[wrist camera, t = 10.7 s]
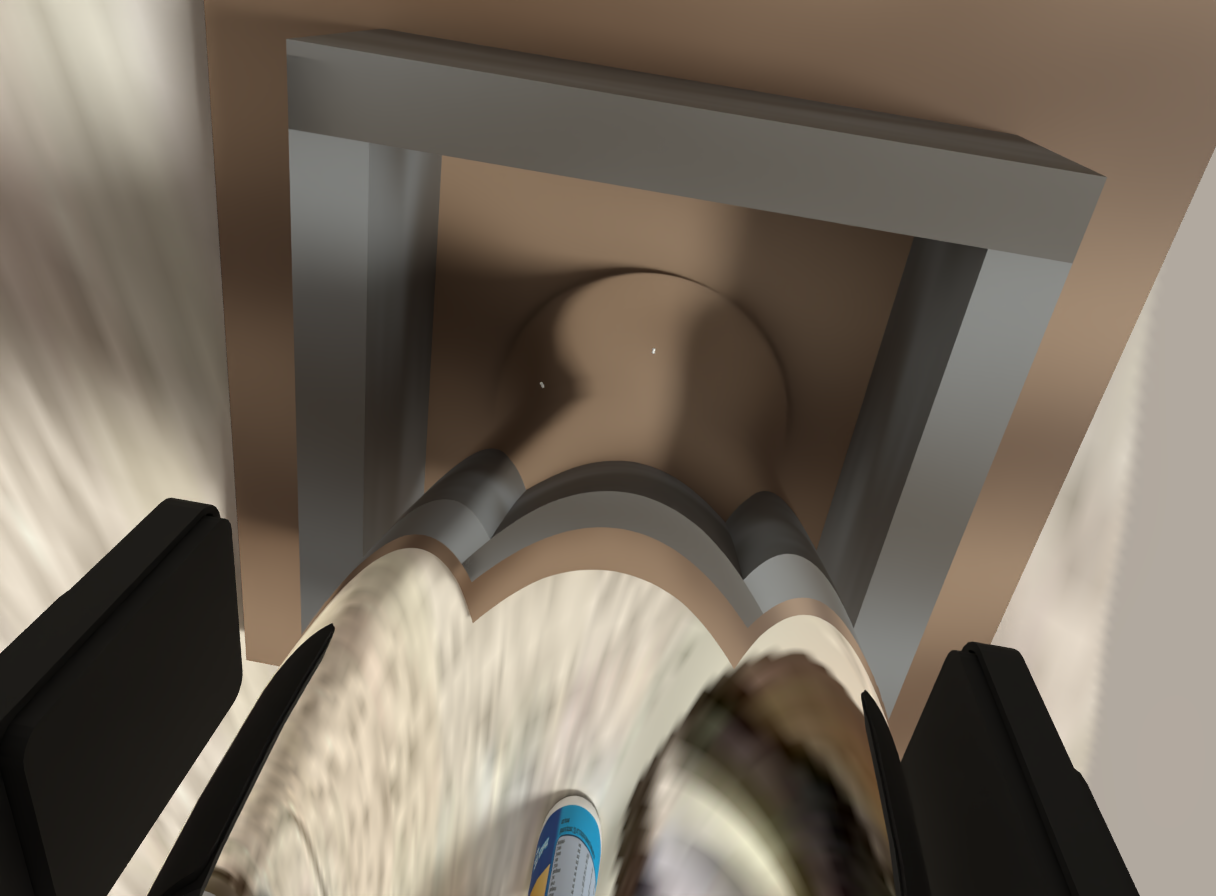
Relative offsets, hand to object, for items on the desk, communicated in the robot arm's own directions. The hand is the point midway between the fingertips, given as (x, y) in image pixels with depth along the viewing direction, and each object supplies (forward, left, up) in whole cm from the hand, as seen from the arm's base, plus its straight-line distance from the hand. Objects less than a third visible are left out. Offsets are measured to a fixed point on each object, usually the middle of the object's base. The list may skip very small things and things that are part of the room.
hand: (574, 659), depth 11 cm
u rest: (-1, 0, -9) cm, 9 cm away
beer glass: (0, 0, -8) cm, 8 cm away
